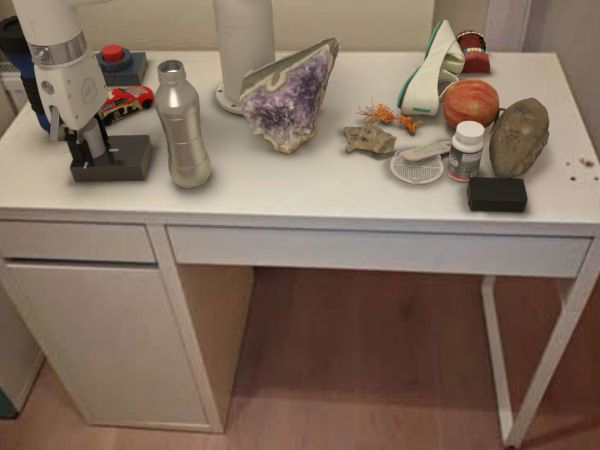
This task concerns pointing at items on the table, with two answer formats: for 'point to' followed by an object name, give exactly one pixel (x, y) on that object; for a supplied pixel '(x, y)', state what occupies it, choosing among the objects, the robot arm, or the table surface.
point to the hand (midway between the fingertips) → (91, 149)
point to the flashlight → (22, 64)
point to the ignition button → (112, 53)
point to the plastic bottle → (181, 125)
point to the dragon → (389, 117)
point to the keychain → (427, 151)
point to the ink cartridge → (496, 194)
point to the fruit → (471, 103)
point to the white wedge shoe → (432, 73)
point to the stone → (518, 138)
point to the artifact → (369, 138)
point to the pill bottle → (466, 151)
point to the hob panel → (116, 161)
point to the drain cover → (417, 180)
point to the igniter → (123, 68)
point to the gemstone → (289, 95)
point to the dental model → (474, 52)
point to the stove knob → (93, 137)
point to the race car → (126, 102)
